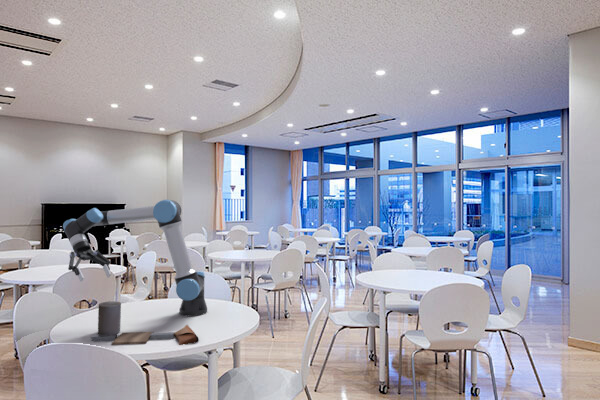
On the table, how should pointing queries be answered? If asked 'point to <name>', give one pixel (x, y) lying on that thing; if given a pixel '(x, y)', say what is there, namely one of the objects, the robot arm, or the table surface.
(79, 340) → the table surface
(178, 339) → the sunglasses case
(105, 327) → the pillar candle
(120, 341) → the brown wooden square board
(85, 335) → the table surface
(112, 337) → the chain ends
